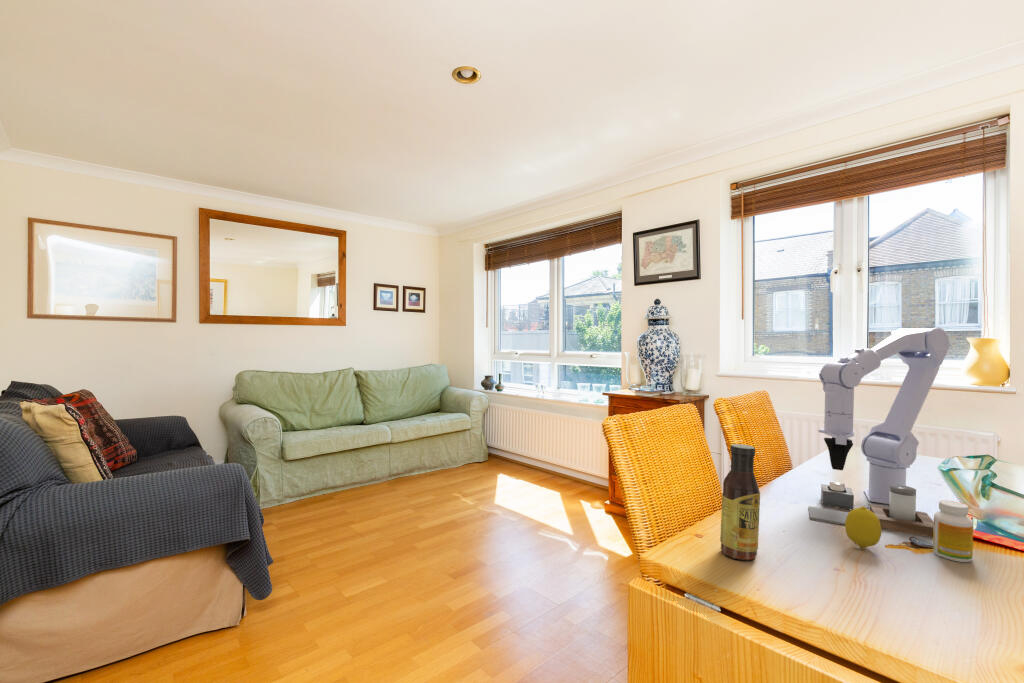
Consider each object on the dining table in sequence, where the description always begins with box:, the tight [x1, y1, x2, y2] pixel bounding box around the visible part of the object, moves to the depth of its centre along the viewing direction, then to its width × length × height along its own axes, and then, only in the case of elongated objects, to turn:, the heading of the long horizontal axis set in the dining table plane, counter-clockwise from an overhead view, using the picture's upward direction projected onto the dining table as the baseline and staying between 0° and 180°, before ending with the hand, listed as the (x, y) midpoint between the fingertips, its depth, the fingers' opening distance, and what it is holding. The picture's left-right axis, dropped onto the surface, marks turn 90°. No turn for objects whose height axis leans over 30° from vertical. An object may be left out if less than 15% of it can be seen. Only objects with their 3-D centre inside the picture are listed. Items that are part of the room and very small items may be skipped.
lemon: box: [844, 505, 882, 550], centre depth 91 cm, size 6×6×8 cm
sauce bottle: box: [719, 443, 761, 561], centre depth 88 cm, size 7×6×20 cm
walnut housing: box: [869, 503, 934, 538], centre depth 103 cm, size 10×10×2 cm
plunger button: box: [829, 480, 846, 493], centre depth 115 cm, size 3×3×3 cm
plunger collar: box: [820, 484, 855, 511], centre depth 115 cm, size 6×6×4 cm
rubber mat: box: [808, 505, 849, 526], centre depth 107 cm, size 8×8×1 cm
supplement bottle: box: [932, 500, 974, 563], centre depth 88 cm, size 5×5×10 cm
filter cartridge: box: [888, 485, 917, 522], centre depth 103 cm, size 4×4×8 cm
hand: (837, 469), depth 115 cm, fingers closed
